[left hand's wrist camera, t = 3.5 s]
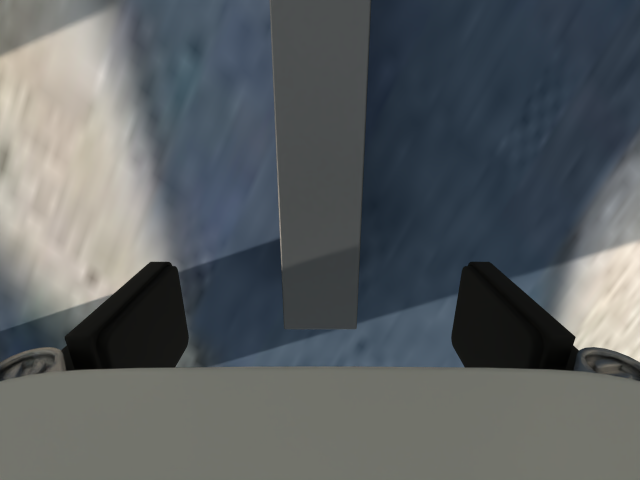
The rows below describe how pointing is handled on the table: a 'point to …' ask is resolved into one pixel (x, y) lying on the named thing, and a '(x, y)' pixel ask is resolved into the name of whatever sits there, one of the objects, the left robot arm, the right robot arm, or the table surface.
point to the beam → (320, 155)
